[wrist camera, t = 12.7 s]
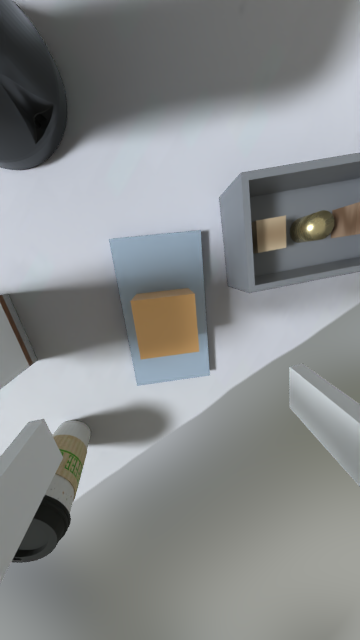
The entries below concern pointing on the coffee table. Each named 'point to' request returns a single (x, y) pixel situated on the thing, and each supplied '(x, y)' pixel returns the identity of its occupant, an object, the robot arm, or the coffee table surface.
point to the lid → (163, 304)
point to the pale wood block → (269, 234)
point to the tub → (289, 222)
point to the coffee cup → (57, 494)
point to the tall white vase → (12, 343)
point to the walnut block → (346, 221)
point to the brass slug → (312, 227)
